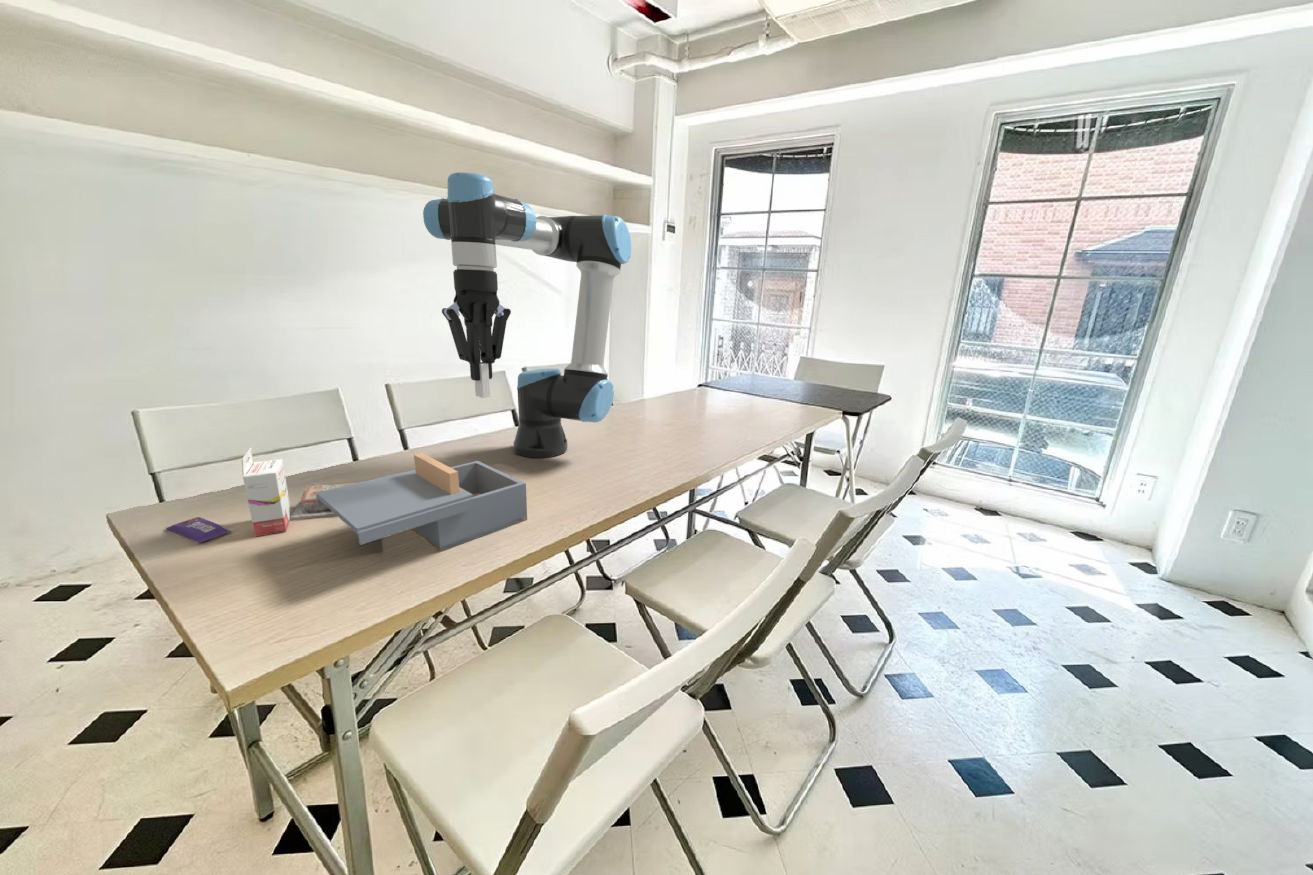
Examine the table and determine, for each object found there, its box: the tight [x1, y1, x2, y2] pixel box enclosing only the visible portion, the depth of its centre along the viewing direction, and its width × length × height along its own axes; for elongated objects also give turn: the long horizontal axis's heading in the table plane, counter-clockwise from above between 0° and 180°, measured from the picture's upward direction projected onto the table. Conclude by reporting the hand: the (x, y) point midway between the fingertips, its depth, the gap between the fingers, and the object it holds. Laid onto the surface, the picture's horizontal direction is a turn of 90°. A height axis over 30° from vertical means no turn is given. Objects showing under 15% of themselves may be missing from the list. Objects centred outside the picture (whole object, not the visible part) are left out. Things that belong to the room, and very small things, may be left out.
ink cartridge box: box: [241, 447, 293, 537], centre depth 93 cm, size 9×5×15 cm, turn 30°
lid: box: [316, 452, 476, 546], centre depth 88 cm, size 19×20×6 cm
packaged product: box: [290, 482, 360, 521], centre depth 103 cm, size 18×5×10 cm
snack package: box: [165, 516, 232, 544], centre depth 91 cm, size 12×2×5 cm
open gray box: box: [410, 460, 528, 553], centre depth 99 cm, size 18×18×8 cm
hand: (482, 396), depth 97 cm, fingers closed
